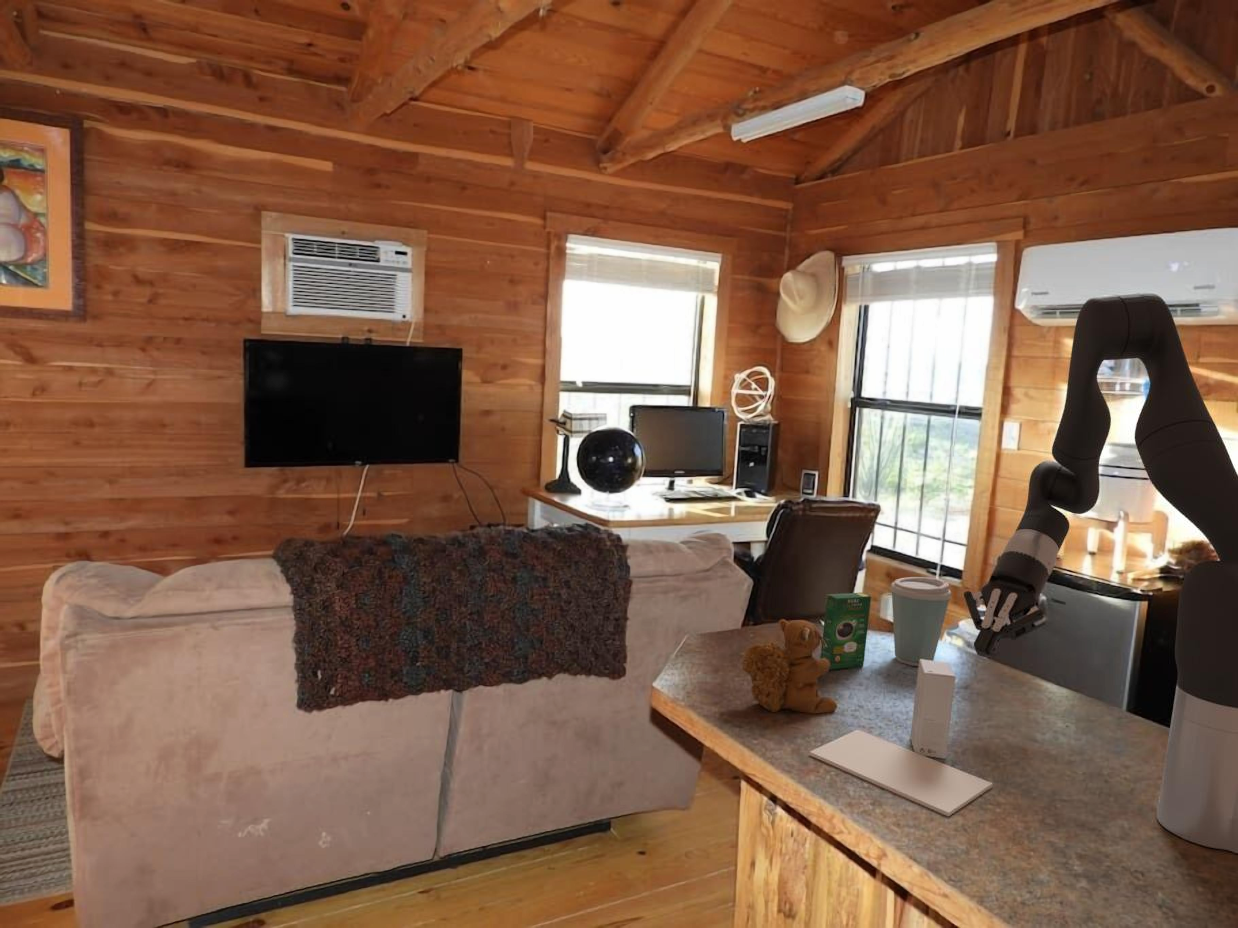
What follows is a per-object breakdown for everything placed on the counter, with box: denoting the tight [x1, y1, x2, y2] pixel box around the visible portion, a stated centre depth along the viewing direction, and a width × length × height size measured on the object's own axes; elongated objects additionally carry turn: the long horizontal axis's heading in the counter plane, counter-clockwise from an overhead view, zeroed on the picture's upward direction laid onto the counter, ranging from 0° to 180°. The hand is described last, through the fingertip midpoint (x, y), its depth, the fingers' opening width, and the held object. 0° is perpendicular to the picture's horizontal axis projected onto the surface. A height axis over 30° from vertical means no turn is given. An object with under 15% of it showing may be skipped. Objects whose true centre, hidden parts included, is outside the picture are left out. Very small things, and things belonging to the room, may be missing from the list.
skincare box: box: [909, 659, 956, 759], centre depth 126 cm, size 6×4×12 cm
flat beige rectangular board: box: [809, 729, 993, 817], centre depth 119 cm, size 20×12×1 cm, turn 44°
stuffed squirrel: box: [739, 618, 838, 715], centre depth 139 cm, size 10×14×13 cm
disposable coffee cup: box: [890, 576, 952, 667], centre depth 163 cm, size 11×11×15 cm
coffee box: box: [819, 592, 872, 671], centre depth 157 cm, size 8×3×13 cm, turn 115°
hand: (981, 654), depth 136 cm, fingers closed
